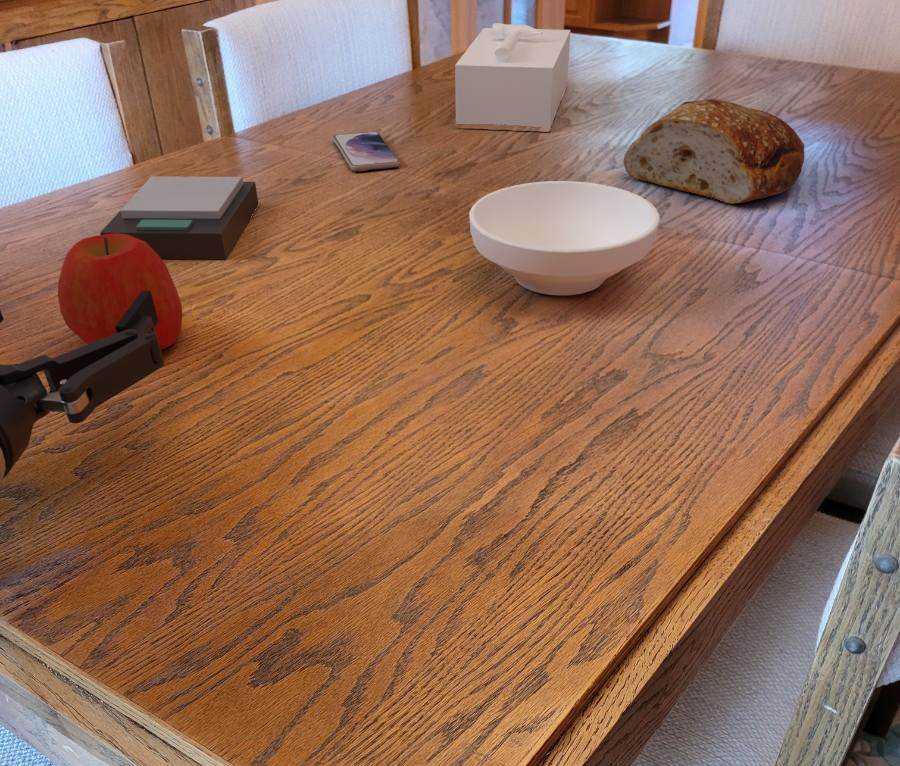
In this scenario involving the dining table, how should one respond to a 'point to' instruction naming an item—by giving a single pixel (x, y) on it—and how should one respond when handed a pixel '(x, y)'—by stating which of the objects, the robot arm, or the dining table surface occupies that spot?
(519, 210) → the bowl
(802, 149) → the bread
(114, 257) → the apple
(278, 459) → the dining table surface
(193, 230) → the scale
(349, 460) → the dining table surface
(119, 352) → the robot arm
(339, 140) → the smartphone
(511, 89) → the tissue box
